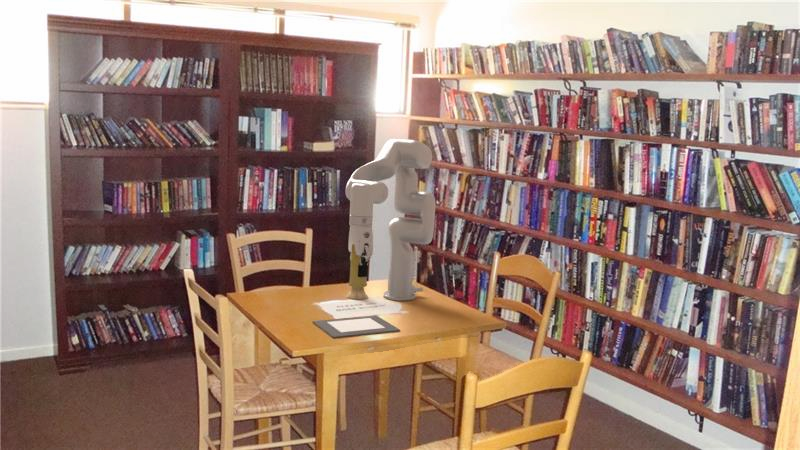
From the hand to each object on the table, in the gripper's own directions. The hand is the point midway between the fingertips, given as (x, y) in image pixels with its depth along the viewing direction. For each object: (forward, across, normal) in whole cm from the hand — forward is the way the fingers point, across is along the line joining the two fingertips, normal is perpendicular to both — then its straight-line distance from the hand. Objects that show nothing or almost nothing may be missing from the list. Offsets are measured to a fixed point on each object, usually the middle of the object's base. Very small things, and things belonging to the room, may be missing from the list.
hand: (358, 274), depth 243 cm
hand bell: (+18, +36, -17) cm, 44 cm away
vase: (+4, 0, 0) cm, 4 cm away
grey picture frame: (+18, 0, 0) cm, 18 cm away
